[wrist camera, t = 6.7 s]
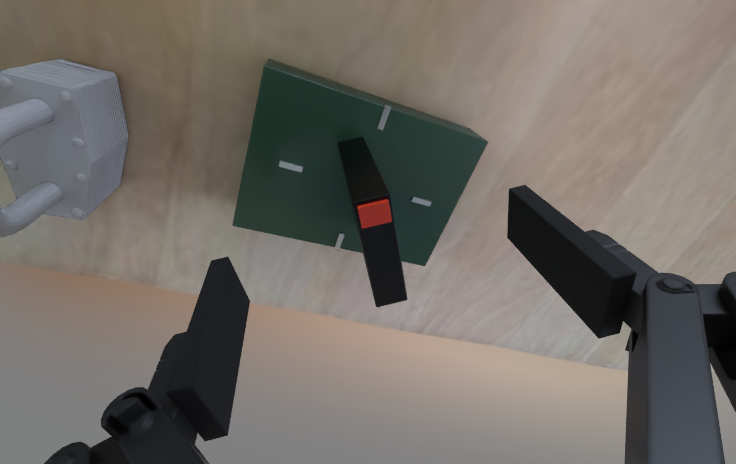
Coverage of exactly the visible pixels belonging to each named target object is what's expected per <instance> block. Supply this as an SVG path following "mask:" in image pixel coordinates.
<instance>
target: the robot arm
mask: <svg viewBox="0 0 736 464" xmlns="http://www.w3.org/2000/svg"><path fill="white" fill-rule="evenodd" d="M507 238H508V239H509V240H510V241H511V242H512V243H513V244H514V245H515V246H516V248H517V249H518V250H519V251H520V252H521V253H522V254H523V255H524V256H525V258H526V259H527V260H528V261H529V262H530V263H531V264H532V265H533V266H534V267H535V269H536V270H537V271H538V272H539V273H540V274H541V275H542V276H543V277H544V279H545V280H546V281H547V282H548V283H549V284H550V285H551V286H552V287H553V288H554V290H555V291H556V292H557V293H558V294H559V295H560V296H561V297H562V298H563V299H564V301H565V302H566V303H567V304H568V305H569V306H570V307H571V308H572V309H573V311H574V312H575V313H576V314H577V315H578V316H579V317H580V318H581V319H582V320H583V322H584V323H585V324H586V325H587V326H588V327H589V328H590V329H591V330H592V332H593V333H594V334H595V335H596V336H597V337H598V338H603V337H607V336H610V335H614V334H618V333H620V330H621V326H622V323H623V321H624V322H625V323H626V324H627V325H628V326H629V327H630V328H631V329H632V330H631V333H630V336H629V339H628V342H627V346H626V349H625V350H626V351H629V365H628V391H627V417H626V444H625V464H725V460H724V453H723V446H722V440H721V434H720V427H719V420H718V413H717V406H716V400H715V394H714V386H713V380H712V373H711V366H710V363H711V365H712V367H713V369H714V371H715V373H716V375H717V376H718V378H719V380H720V382H721V384H722V386H723V388H724V390H725V392H726V394H727V396H728V398H729V400H730V402H731V404H732V406H733V408H734V410H735V412H736V272H732V273H729V274H727V275H726V276H725V278H724V280H723V282H722V284H694V283H692V282H691V281H690V280H688V279H686V278H684V277H682V276H679V275H675V274H671V273H658V272H657V271H655V270H654V269H653V268H651V267H650V266H648V265H647V264H646V263H644V262H643V261H642V260H640V259H639V258H638V257H636V256H635V255H634V254H632V253H631V252H630V251H627V249H625V248H624V247H623V246H621V245H618V243H617V242H616V241H615V240H613V239H612V238H611V237H609V236H608V235H605V234H603V233H600V232H598V231H595V230H591V231H587V232H584V231H583V230H582V229H580V228H579V227H578V226H577V225H575V224H574V223H573V222H571V221H570V220H569V219H568V218H566V217H565V216H564V215H563V214H561V213H560V212H559V211H557V210H556V209H555V208H554V207H552V206H551V205H550V204H549V203H547V202H546V201H545V200H543V199H542V198H541V197H540V196H538V195H537V194H536V193H535V192H533V191H532V190H531V189H529V188H528V187H527V186H526V185H523V186H519V187H515V188H510V189H509V206H508V235H507ZM249 304H250V300H249V298H248V296H247V294H246V292H245V290H244V288H243V286H242V284H241V282H240V280H239V278H238V276H237V274H236V272H235V270H234V268H233V266H232V264H231V261H230V259H229V257H225V258H221V259H216V260H212V261H211V263H210V266H209V269H208V271H207V274H206V277H205V280H204V283H203V286H202V289H201V292H200V295H199V298H198V300H197V303H196V307H195V309H194V312H193V315H192V318H191V321H190V324H189V327H188V330H187V332H184V333H180V334H175V335H174V336H173V337H172V338H171V340H170V341H169V342H168V344H167V345H166V346H165V348H164V350H163V353H162V356H161V358H160V361H159V363H158V366H157V368H156V369H157V371H155V373H154V376H153V378H152V381H151V383H150V386H149V388H148V390H147V389H145V388H143V387H141V388H140V387H139V388H134V389H130V390H128V391H126V392H124V393H123V394H121V395H119V396H118V397H117V398H116V399H114V400H113V401H112V402H111V403H110V404H109V406H108V407H107V408H106V410H105V411H104V413H103V416H102V418H101V426H102V428H103V429H105V430H106V431H107V432H108V433H109V434H110V435H111V436H112V437H110V438H108V439H106V440H104V441H102V442H100V443H99V444H97V445H95V446H93V447H91V448H90V447H89V446H88V445H86V444H84V443H82V442H76V443H71V444H69V445H67V446H65V447H63V448H61V449H60V450H59V451H57V452H56V453H55V454H53V455H52V456H51V457H50V458H49V459H48V460H47V461H46V462H45V463H44V464H209V463H208V461H207V460H206V459H205V457H204V456H203V455H202V453H201V452H200V451H199V449H198V448H197V447H196V446H195V441H196V437H197V433H199V435H200V436H201V437H202V438H203V439H204V441H208V440H212V439H216V438H220V437H223V436H227V435H228V430H229V424H230V418H231V412H232V406H233V400H234V394H235V388H236V382H237V376H238V369H239V364H240V357H241V352H242V346H243V340H244V333H245V328H246V322H247V316H248V310H249Z"/></svg>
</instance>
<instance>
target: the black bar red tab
mask: <svg viewBox="0 0 736 464" xmlns="http://www.w3.org/2000/svg"><path fill="white" fill-rule="evenodd" d="M337 144H338V149H339V153H340V157H341V162H342V166H343V170H344V175H345V179H346V183H347V188H348V192H349V196H350V201H351V205H352V209H353V214H354V218H355V222H356V227H357V231H358V235H359V239H360V243H361V247H362V251H363V255H364V259H365V263H366V267H367V272H368V276H369V280H370V284H371V288H372V292H373V296H374V300H375V304H376V307H380V306H384V305H388V304H393V303H397V302H401V301H405V300H407V294H406V287H405V281H404V275H403V269H402V263H401V257H400V250H399V244H398V238H397V232H396V226H395V220H394V214H393V207H392V201H391V195H390V192H389V190H388V188H387V186H386V184H385V182H384V180H383V178H382V175H381V173H380V171H379V169H378V167H377V165H376V163H375V161H374V159H373V156H372V154H371V152H370V150H369V148H368V146H367V144H366V142H365V139H364V137H359V138H355V139H351V140H346V141H342V142H338V143H337Z"/></svg>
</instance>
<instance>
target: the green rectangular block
mask: <svg viewBox="0 0 736 464" xmlns="http://www.w3.org/2000/svg"><path fill="white" fill-rule="evenodd" d="M359 137H364V139H365V142H366V144H367V146H368V148H369V150H370V152H371V154H372V156H373V159H374V161H375V163H376V165H377V167H378V169H379V171H380V173H381V175H382V178H383V180H384V182H385V184H386V186H387V188H388V190H389V192H390V195H391V201H392V207H393V214H394V220H395V226H396V232H397V238H398V244H399V250H400V257H401V261H403V262H408V263H413V264H418V265H422V266H425V265H426V263H427V261H428V259H429V257H430V255H431V253H432V251H433V249H434V247H435V245H436V244H437V242H438V240H439V238H440V236H441V234H442V232H443V230H444V228H445V226H446V224H447V222H448V220H449V218H450V216H451V214H452V212H453V210H454V208H455V206H456V204H457V202H458V200H459V198H460V196H461V194H462V192H463V190H464V188H465V186H466V184H467V182H468V181H469V179H470V177H471V175H472V173H473V171H474V169H475V167H476V165H477V163H478V161H479V159H480V157H481V155H482V153H483V151H484V149H485V147H486V145H487V143H488V142H487V141H486V140H485V139H483V138H482V137H481V136H479V135H478V134H476V133H475V132H474V131H472V130H471V129H469V128H466V127H463V126H460V125H457V124H455V123H452V122H449V121H446V120H443V119H440V118H437V117H435V116H432V115H429V114H426V113H423V112H420V111H417V110H414V109H412V108H409V107H406V106H403V105H400V104H397V103H394V102H392V101H389V100H386V99H383V98H380V97H377V96H374V95H372V94H369V93H366V92H363V91H360V90H357V89H354V88H351V87H349V86H346V85H343V84H340V83H337V82H334V81H331V80H329V79H326V78H323V77H320V76H317V75H314V74H311V73H308V72H306V71H303V70H300V69H297V68H294V67H291V66H288V65H286V64H283V63H280V62H277V61H274V60H271V59H269V60H268V61H267V63H266V64H265V66H264V69H263V74H262V79H261V84H260V89H259V94H258V99H257V104H256V109H255V114H254V119H253V124H252V129H251V134H250V140H249V145H248V150H247V155H246V160H245V165H244V170H243V175H242V180H241V185H240V190H239V195H238V200H237V205H236V210H235V215H234V221H233V226H236V227H241V228H246V229H251V230H256V231H260V232H265V233H270V234H275V235H279V236H284V237H289V238H294V239H298V240H303V241H308V242H313V243H318V244H322V245H327V246H332V247H334V250H337V251H339V249H340V248H341V249H346V250H351V251H356V252H360V253H363V251H362V247H361V243H360V239H359V235H358V231H357V227H356V222H355V218H354V214H353V209H352V205H351V201H350V196H349V192H348V188H347V183H346V179H345V175H344V170H343V166H342V162H341V157H340V153H339V149H338V144H337V143H338V142H342V141H346V140H351V139H355V138H359Z"/></svg>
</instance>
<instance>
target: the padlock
mask: <svg viewBox="0 0 736 464" xmlns="http://www.w3.org/2000/svg"><path fill="white" fill-rule="evenodd" d="M128 138H129V134H128V129H127V124H126V119H125V114H124V109H123V104H122V99H121V94H120V89H119V84H118V79H117V76H116V74H115V73H113V72H109V71H106V70H102V69H98V68H94V67H90V66H86V65H82V64H78V63H74V62H70V61H66V60H62V59H55V60H50V61H45V62H40V63H35V64H30V65H25V66H20V67H15V68H10V69H5V70H0V157H1V160H2V162H3V165H4V167H5V170H6V173H7V175H8V178H9V180H10V183H11V185H12V188H13V190H14V193H15V196H16V198H17V200H15V201H14V202H12V203H11V204H9V205H8V206H6V207H5V208H2V209H0V237H4V236H8V235H11V234H15V233H17V232H18V231H20V230H22V229H23V228H25V227H26V226H28V225H29V224H31V223H32V222H33V221H34V220H36V219H37V218H38V217H40V216H41V215H42V214H47V215H54V216H60V217H67V218H73V219H80V220H82V219H85V218H86V217H87V216H88V215H89V214H90V213H91V212H92V211H93V210H95V209H96V208H97V206H99V204H101V203H102V202H103V201H104V200H105V199H106V198H107V197H108V196H109V195H110V194H111V193H112V192H113V191H114V190H115V189H116V188H117V187H118V186H120V183H121V177H122V172H123V166H124V161H125V155H126V149H127V144H128Z"/></svg>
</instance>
